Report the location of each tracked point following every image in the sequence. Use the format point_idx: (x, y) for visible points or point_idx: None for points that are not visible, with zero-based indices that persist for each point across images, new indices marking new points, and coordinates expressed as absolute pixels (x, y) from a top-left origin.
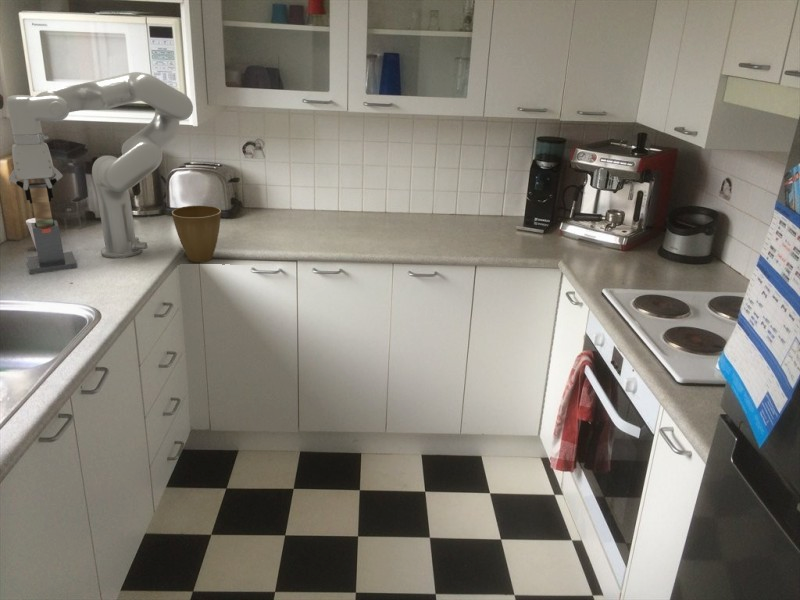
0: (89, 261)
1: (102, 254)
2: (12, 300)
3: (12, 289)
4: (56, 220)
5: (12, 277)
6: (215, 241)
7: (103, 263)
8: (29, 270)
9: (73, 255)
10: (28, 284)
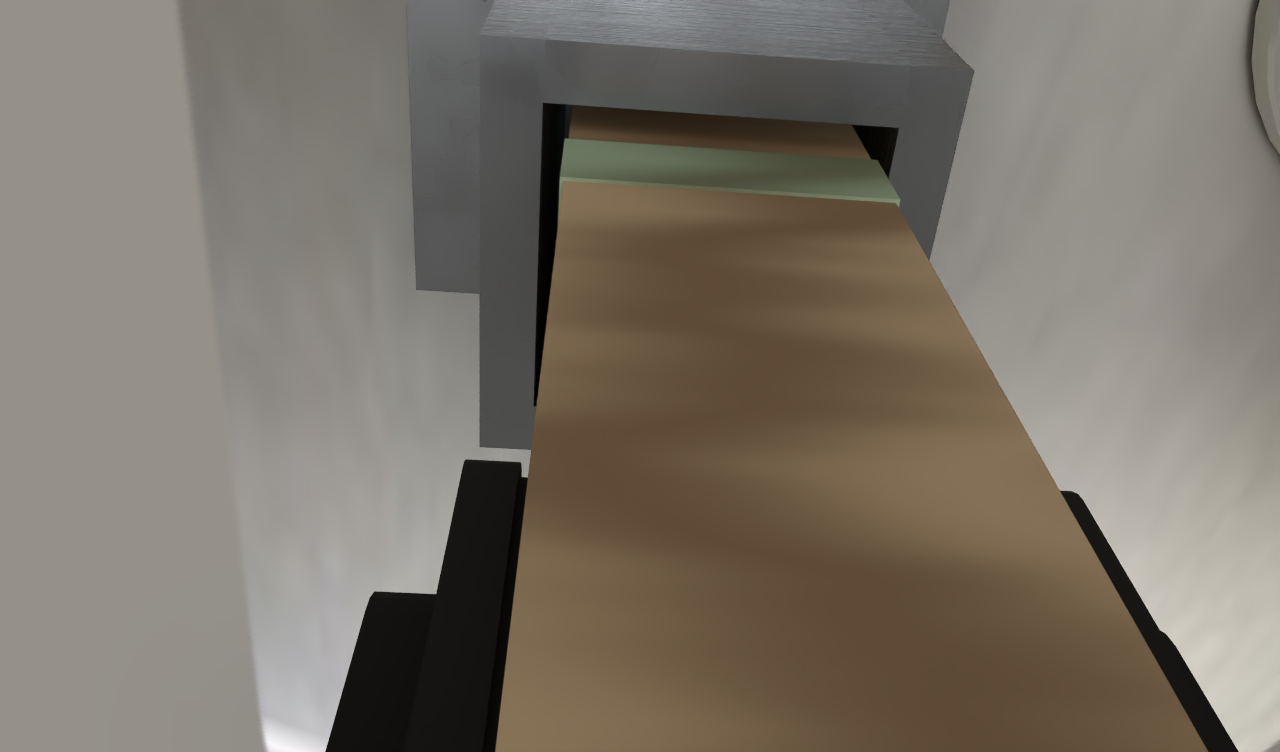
0: (1045, 145)
1: (1260, 33)
2: (301, 741)
3: (286, 561)
4: (966, 91)
5: (263, 278)
6: None
7: (1128, 283)
8: (419, 283)
9: (943, 14)
10: (406, 513)
